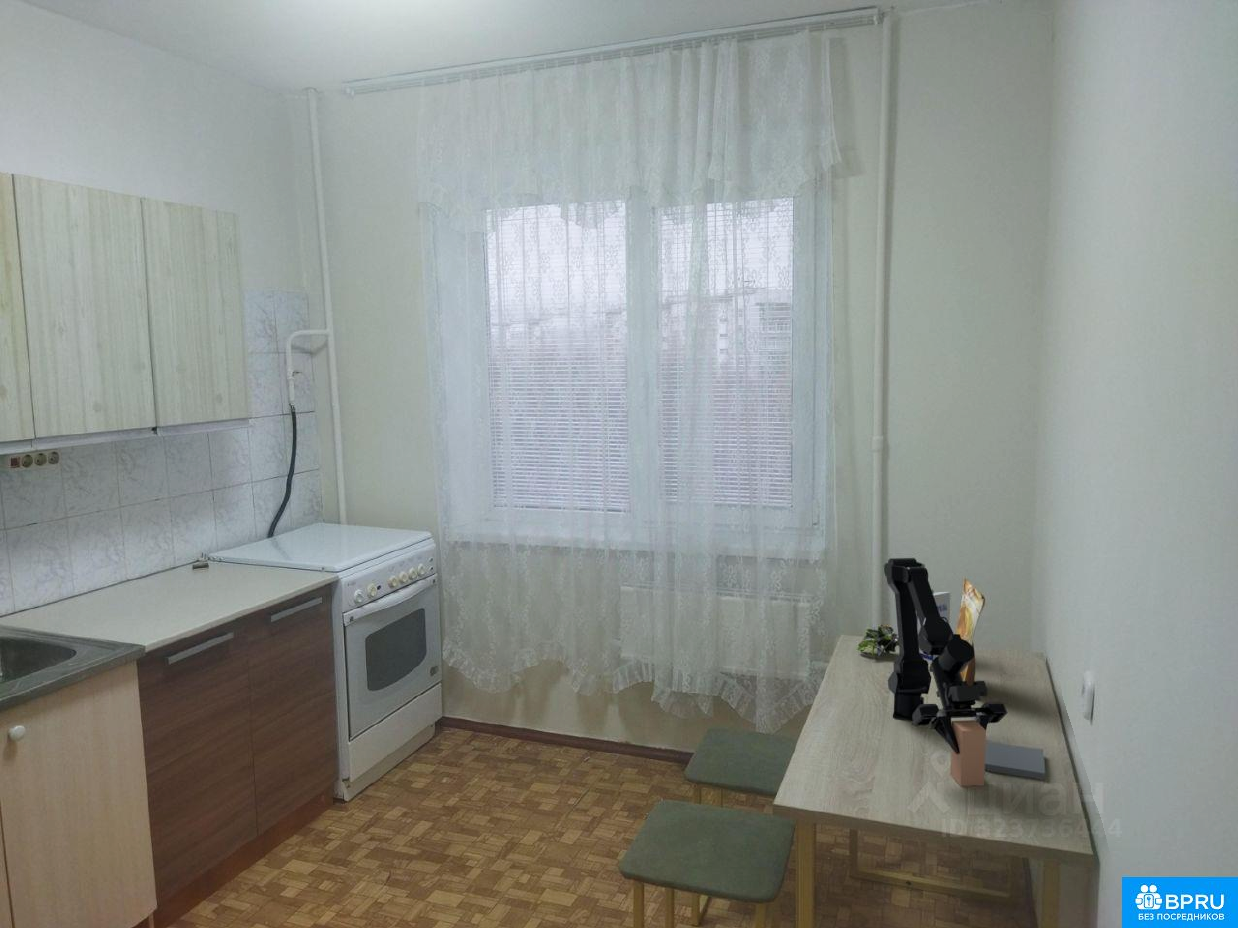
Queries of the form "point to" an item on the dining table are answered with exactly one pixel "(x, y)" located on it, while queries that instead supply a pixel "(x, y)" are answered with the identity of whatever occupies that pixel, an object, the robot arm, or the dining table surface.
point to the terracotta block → (968, 753)
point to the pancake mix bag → (969, 622)
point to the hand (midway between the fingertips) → (970, 752)
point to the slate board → (1014, 760)
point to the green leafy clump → (880, 640)
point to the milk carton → (944, 610)
